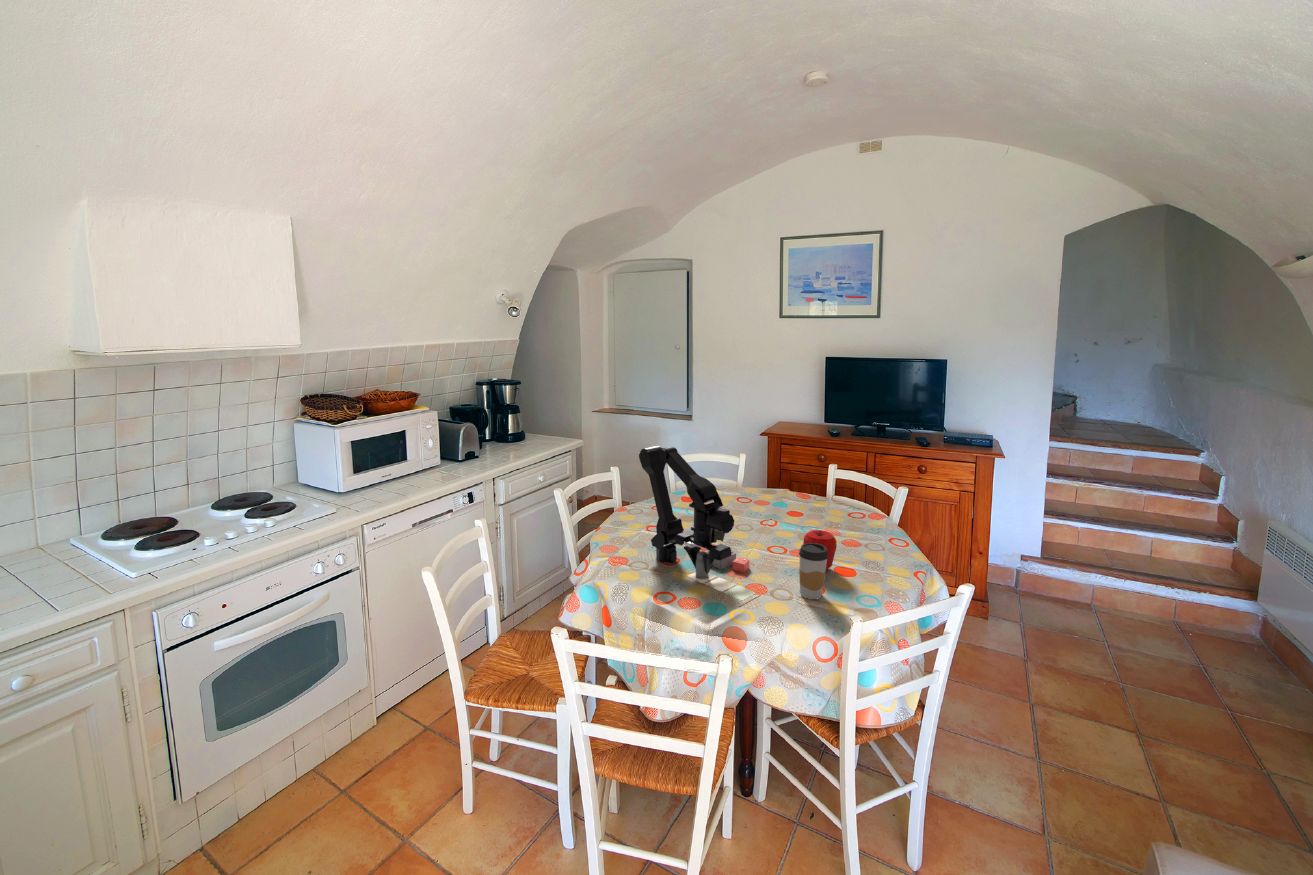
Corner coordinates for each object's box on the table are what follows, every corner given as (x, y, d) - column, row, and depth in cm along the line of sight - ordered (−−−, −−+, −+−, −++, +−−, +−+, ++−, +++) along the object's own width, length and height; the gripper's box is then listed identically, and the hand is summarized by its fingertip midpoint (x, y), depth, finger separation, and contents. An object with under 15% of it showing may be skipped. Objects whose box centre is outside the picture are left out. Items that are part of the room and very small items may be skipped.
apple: (835, 577, 190) (838, 537, 187) (802, 574, 192) (804, 534, 189) (833, 563, 200) (835, 525, 197) (801, 561, 202) (803, 522, 199)
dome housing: (702, 565, 199) (703, 552, 198) (718, 558, 204) (718, 545, 203) (721, 572, 193) (721, 559, 192) (736, 565, 199) (736, 552, 198)
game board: (681, 580, 188) (681, 576, 188) (703, 570, 195) (703, 567, 194) (739, 607, 172) (739, 603, 172) (761, 595, 179) (761, 591, 178)
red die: (732, 573, 193) (732, 560, 192) (737, 568, 196) (737, 555, 195) (744, 575, 191) (744, 563, 190) (748, 571, 194) (749, 558, 193)
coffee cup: (820, 588, 183) (823, 541, 180) (829, 601, 175) (832, 553, 172) (793, 588, 183) (796, 542, 179) (800, 601, 175) (803, 553, 171)
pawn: (692, 575, 188) (693, 551, 186) (701, 572, 191) (702, 547, 189) (702, 580, 185) (702, 555, 184) (711, 576, 188) (711, 551, 186)
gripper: (743, 524, 183) (742, 572, 187) (698, 509, 196) (697, 554, 200) (719, 534, 176) (718, 583, 179) (674, 518, 189) (673, 564, 192)
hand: (702, 570), depth 188 cm, fingers closed on pawn, 4 cm apart
